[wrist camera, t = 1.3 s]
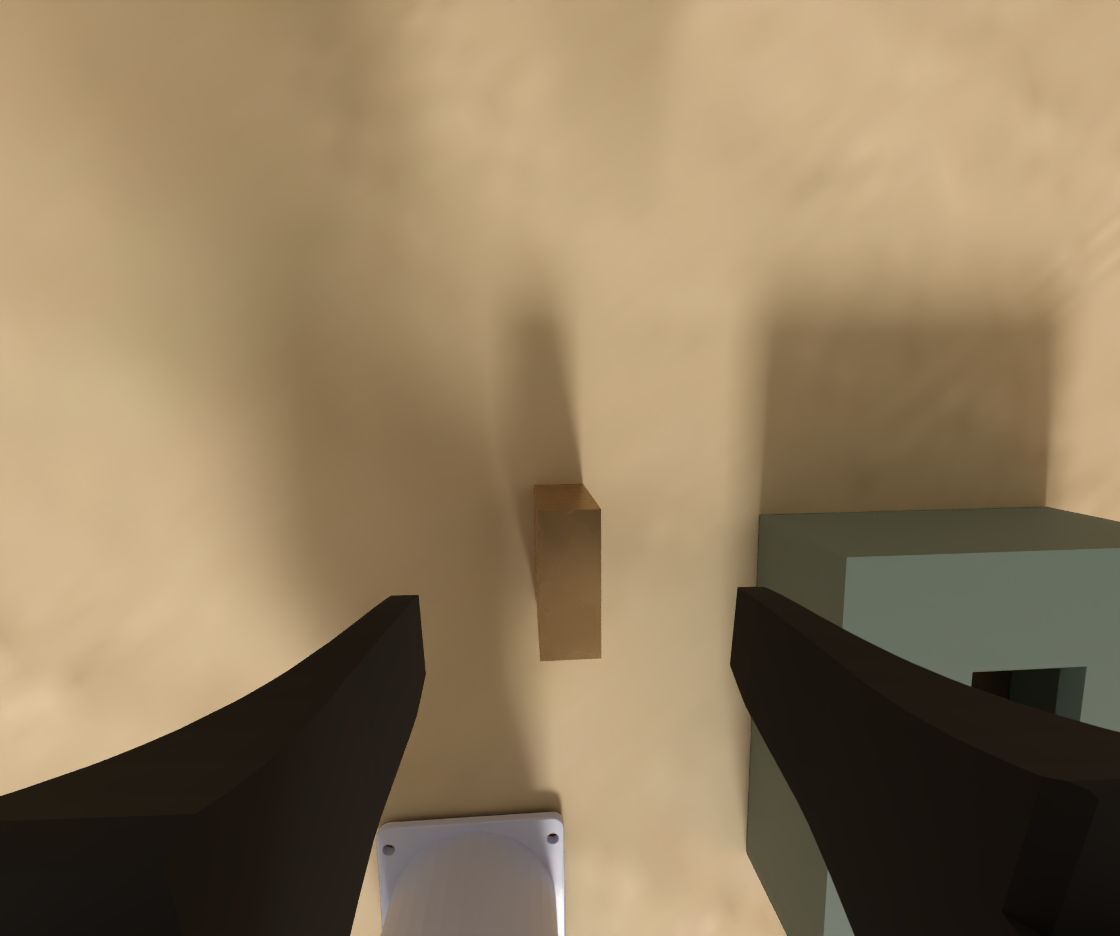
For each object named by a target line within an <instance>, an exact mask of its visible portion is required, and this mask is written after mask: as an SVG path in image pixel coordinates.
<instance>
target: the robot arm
mask: <svg viewBox="0 0 1120 936" xmlns="http://www.w3.org/2000/svg"><path fill="white" fill-rule="evenodd" d="M730 666H731V669H732V672H733V674H734V677H735V680H736V683H737V685H738V688H739V691H740V693H741V696H742V698H743V701H744V703H745V706H746V708H747V710H748V712H749V713H750V715H751V717H752V719H753V721H754V723H755V725H756V727H757V729H758V730H759V732H760V734H761V736H762V738H763V740H764V742H765V743H766V745H767V747H768V749H769V751H770V753H771V754H772V756H773V758H774V760H775V762H776V764H777V765H778V767H779V769H780V771H781V773H782V775H783V776H784V778H785V780H786V782H787V784H788V786H789V787H790V789H791V791H792V793H793V795H794V797H795V798H796V800H797V802H798V804H799V806H800V808H801V810H802V812H803V814H804V816H805V818H806V820H807V822H808V825H809V827H810V829H811V832H812V834H813V836H814V839H815V841H816V843H817V846H818V848H819V850H820V853H821V855H822V857H823V860H824V862H825V864H826V867H827V869H828V871H829V874H830V876H831V878H832V881H833V883H834V886H835V888H836V891H837V893H838V896H839V898H840V901H841V903H842V906H843V908H844V911H845V913H846V916H847V918H848V921H849V923H850V926H851V928H852V931H853V933H854V936H1120V732H1118V731H1113V730H1110V729H1106V728H1102V727H1098V726H1095V725H1091V724H1088V723H1084V722H1080V721H1077V720H1073V719H1070V718H1066V717H1063V716H1059V715H1055V714H1052V713H1049V712H1045V711H1042V710H1039V709H1036V708H1033V707H1029V706H1026V705H1023V704H1020V703H1017V702H1014V701H1011V700H1008V699H1005V698H1002V697H999V696H996V695H994V694H991V693H988V692H985V691H982V690H979V689H976V688H973V687H971V686H968V685H966V684H963V683H960V682H958V681H955V680H952V679H950V678H947V677H945V676H943V675H940V674H938V673H935V672H933V671H931V670H928V669H926V668H924V667H921V666H919V665H916V664H914V663H912V662H909V661H907V660H905V659H903V658H901V657H898V656H896V655H894V654H892V653H890V652H888V651H886V650H884V649H882V648H880V647H878V646H876V645H874V644H872V643H870V642H868V641H866V640H864V639H862V638H860V637H858V636H856V635H854V634H852V633H850V632H848V631H847V630H845V629H843V628H841V627H839V626H837V625H835V624H834V623H832V622H830V621H828V620H826V619H825V618H823V617H821V616H819V615H817V614H816V613H814V612H812V611H810V610H808V609H807V608H805V607H803V606H801V605H799V604H798V603H796V602H794V601H792V600H790V599H789V598H787V597H785V596H783V595H781V594H779V593H777V592H775V591H773V590H771V589H768V588H766V587H738V589H737V599H736V609H735V619H734V630H733V640H732V650H731V660H730ZM425 675H426V672H425V661H424V650H423V639H422V628H421V617H420V606H419V595H402V596H390V597H388V598H387V599H385V600H384V601H383V602H381V603H380V604H379V605H377V606H376V607H375V608H373V609H372V610H371V611H369V612H368V613H367V614H366V615H364V616H363V617H362V618H360V619H359V620H358V621H357V622H355V623H354V624H353V625H351V626H350V627H349V628H347V629H346V630H345V631H343V632H342V633H341V634H339V635H338V636H337V637H336V638H334V639H333V640H332V641H330V642H329V643H327V644H326V645H324V646H323V647H322V648H320V649H319V650H317V651H316V652H314V653H313V654H311V655H310V656H309V657H307V658H306V659H304V660H303V661H301V662H300V663H298V664H297V665H296V666H294V667H293V668H291V669H290V670H288V671H287V672H285V673H283V674H282V675H280V676H279V677H277V678H275V679H274V680H272V681H270V682H269V683H267V684H265V685H264V686H262V687H260V688H258V689H257V690H255V691H253V692H251V693H250V694H248V695H246V696H244V697H243V698H241V699H239V700H237V701H235V702H233V703H231V704H229V705H227V706H225V707H223V708H221V709H219V710H217V711H215V712H213V713H211V714H209V715H207V716H205V717H203V718H201V719H199V720H197V721H195V722H193V723H191V724H189V725H187V726H185V727H183V728H181V729H178V730H176V731H174V732H172V733H169V734H167V735H165V736H163V737H160V738H158V739H156V740H153V741H151V742H149V743H146V744H144V745H142V746H139V747H137V748H134V749H132V750H129V751H127V752H124V753H122V754H119V755H117V756H114V757H112V758H109V759H107V760H104V761H101V762H99V763H96V764H93V765H91V766H88V767H85V768H82V769H79V770H76V771H74V772H71V773H68V774H65V775H62V776H59V777H56V778H53V779H50V780H48V781H45V782H42V783H39V784H36V785H33V786H30V787H27V788H24V789H21V790H18V791H15V792H12V793H9V794H6V795H3V796H0V936H350V934H351V930H352V925H353V921H354V917H355V913H356V908H357V904H358V900H359V896H360V892H361V888H362V884H363V880H364V876H365V872H366V868H367V864H368V860H369V856H370V853H371V849H372V845H373V841H374V838H375V834H376V831H377V828H378V825H379V822H380V818H381V815H382V813H383V810H384V807H385V804H386V801H387V799H388V796H389V793H390V790H391V787H392V785H393V782H394V779H395V776H396V773H397V771H398V768H399V765H400V762H401V759H402V757H403V754H404V751H405V748H406V745H407V742H408V740H409V737H410V734H411V731H412V728H413V725H414V722H415V719H416V716H417V712H418V708H419V703H420V699H421V694H422V689H423V684H424V679H425ZM552 833H554V834H557V835H556V836H553V837H551V836H548V835H549V834H552ZM376 841H377V856H378V872H379V887H380V902H381V918H382V933H381V936H565V867H564V822H563V817H562V816H561V815H560V814H559V813H557V812H540V813H525V814H510V815H494V816H479V817H464V818H449V819H434V820H418V821H403V822H389V823H385V824H384V825H382V826H381V827H380V829H379V831H378V834H377V839H376ZM386 845H392V846H394V847H393V848H389V847H387V846H386Z"/></svg>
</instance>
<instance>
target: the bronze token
mask: <svg viewBox="0 0 1120 936" xmlns="http://www.w3.org/2000/svg"><path fill="white" fill-rule="evenodd" d="M534 499H535V552H536V603H537V618H538V633H539V648H540V661H554V660H576V659H597V658H601V509H600V507H599V506H598V504H597V503H596V502H595V500H594V499H593V497H592V496H591V495H590V493H589V492H588V490H587V489H586V488H585V486H584V485H583V484H560V485H534Z"/></svg>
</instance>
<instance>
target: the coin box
mask: <svg viewBox="0 0 1120 936" xmlns="http://www.w3.org/2000/svg"><path fill="white" fill-rule="evenodd" d="M757 587H766V588H768V589H771V590H773V591H775V592H777V593H779V594H781V595H783V596H785V597H787V598H789V599H790V600H792V601H794V602H796V603H798V604H799V605H801V606H803V607H805V608H807V609H808V610H810V611H812V612H814V613H816V614H817V615H819V616H821V617H823V618H825V619H826V620H828V621H830V622H832V623H834V624H835V625H837V626H839V627H841V628H843V629H845V630H847V631H848V632H850V633H852V634H854V635H856V636H858V637H860V638H862V639H864V640H866V641H868V642H870V643H872V644H874V645H876V646H878V647H880V648H882V649H884V650H886V651H888V652H890V653H892V654H894V655H896V656H898V657H901V658H903V659H905V660H907V661H909V662H912V663H914V664H916V665H919V666H921V667H924V668H926V669H928V670H931V671H933V672H935V673H938V674H940V675H943V676H945V677H947V678H950V679H952V680H955V681H958V682H960V683H963V684H966V685H968V686H971V683H972V672H985V671H1005V670H1012V677H1011V686H1010V696H1009V700H1011V701H1014V702H1017V703H1020V704H1023V705H1026V706H1029V707H1033V708H1036V709H1039V710H1042V711H1045V712H1049V713H1052V714H1055V715H1059V716H1063V717H1066V718H1070V719H1073V720H1077V721H1080V722H1084V723H1088V724H1091V725H1095V726H1098V727H1102V728H1106V729H1110V730H1113V731H1118V732H1120V522H1118V521H1113V520H1108V519H1103V518H1099V517H1094V516H1089V515H1084V514H1079V513H1074V512H1069V511H1064V510H1059V509H1054V508H1050V507H1026V508H990V509H955V510H919V511H884V512H848V513H813V514H777V515H760V517H759V543H758V569H757ZM747 855H748V857H749V859H750V861H751V863H752V865H753V867H754V869H755V871H756V873H757V875H758V877H759V880H760V882H761V884H762V886H763V888H764V890H765V892H766V894H767V896H768V898H769V900H770V902H771V904H772V906H773V908H774V910H775V912H776V914H777V916H778V918H779V920H780V922H781V924H782V926H783V928H784V930H785V932H786V934H787V936H854V933H853V931H852V928H851V926H850V923H849V921H848V918H847V916H846V913H845V911H844V908H843V906H842V903H841V901H840V898H839V896H838V893H837V891H836V888H835V886H834V883H833V881H832V878H831V876H830V874H829V871H828V869H827V867H826V864H825V862H824V860H823V857H822V855H821V853H820V850H819V848H818V846H817V843H816V841H815V839H814V836H813V834H812V832H811V829H810V827H809V825H808V822H807V820H806V818H805V816H804V814H803V812H802V810H801V808H800V806H799V804H798V802H797V800H796V798H795V797H794V795H793V793H792V791H791V789H790V787H789V786H788V784H787V782H786V780H785V778H784V776H783V775H782V773H781V771H780V769H779V767H778V765H777V764H776V762H775V760H774V758H773V756H772V754H771V753H770V751H769V749H768V747H767V745H766V743H765V742H764V740H763V738H762V736H761V734H760V732H759V730H758V729H757V727H756V725H755V723H754V721H753V719H752V726H751V752H750V778H749V804H748V830H747Z"/></svg>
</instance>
